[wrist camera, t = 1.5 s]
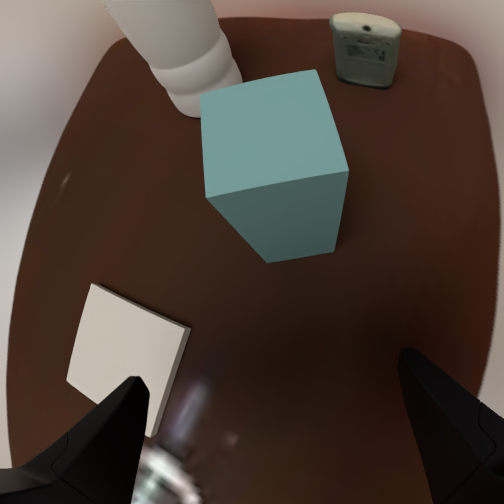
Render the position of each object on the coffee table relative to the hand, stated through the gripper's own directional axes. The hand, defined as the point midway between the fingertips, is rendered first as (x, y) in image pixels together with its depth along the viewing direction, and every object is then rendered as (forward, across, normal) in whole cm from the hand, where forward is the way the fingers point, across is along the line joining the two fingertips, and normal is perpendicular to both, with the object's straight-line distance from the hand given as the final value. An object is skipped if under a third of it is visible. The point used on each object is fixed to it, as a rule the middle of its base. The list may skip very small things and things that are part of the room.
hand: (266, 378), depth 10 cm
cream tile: (+10, +14, +8) cm, 19 cm away
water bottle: (+25, +4, -11) cm, 28 cm away
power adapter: (+24, -11, -10) cm, 28 cm away
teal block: (+15, -2, +1) cm, 15 cm away
